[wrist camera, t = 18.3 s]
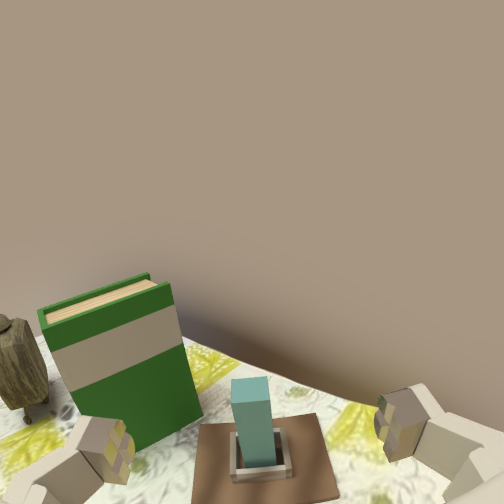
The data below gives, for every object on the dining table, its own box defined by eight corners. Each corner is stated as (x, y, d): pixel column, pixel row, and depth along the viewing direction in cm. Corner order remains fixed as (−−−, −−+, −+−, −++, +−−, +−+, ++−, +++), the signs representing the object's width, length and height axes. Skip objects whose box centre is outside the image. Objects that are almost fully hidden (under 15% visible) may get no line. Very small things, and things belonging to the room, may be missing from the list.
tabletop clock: (22, 390, 48) (-22, 286, 41) (54, 380, 53) (14, 275, 46) (22, 431, 37) (-40, 311, 30) (60, 420, 42) (3, 298, 35)
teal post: (246, 472, 33) (230, 403, 29) (245, 450, 37) (231, 379, 33) (277, 469, 33) (270, 399, 29) (274, 448, 37) (267, 376, 33)
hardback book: (179, 395, 51) (146, 272, 44) (203, 415, 45) (169, 283, 39) (96, 436, 40) (36, 310, 33) (112, 463, 34) (41, 330, 28)
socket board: (192, 511, 27) (185, 500, 26) (201, 428, 43) (196, 413, 42) (338, 498, 27) (341, 486, 26) (315, 416, 43) (315, 401, 42)
